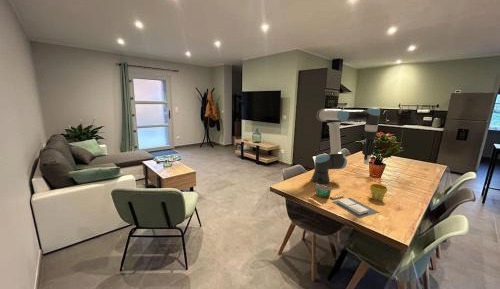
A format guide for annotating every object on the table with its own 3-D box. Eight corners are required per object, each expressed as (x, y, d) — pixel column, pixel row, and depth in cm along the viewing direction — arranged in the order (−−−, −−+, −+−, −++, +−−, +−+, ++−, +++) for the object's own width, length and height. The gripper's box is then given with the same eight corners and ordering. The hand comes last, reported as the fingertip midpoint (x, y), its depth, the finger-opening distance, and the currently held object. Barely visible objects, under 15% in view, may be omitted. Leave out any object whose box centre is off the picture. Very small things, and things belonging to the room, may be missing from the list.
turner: (334, 202, 145) (334, 199, 145) (328, 198, 151) (328, 195, 150) (353, 198, 152) (353, 195, 152) (346, 194, 158) (346, 191, 157)
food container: (311, 196, 153) (312, 183, 151) (315, 194, 157) (316, 181, 155) (327, 202, 145) (328, 189, 143) (331, 199, 149) (332, 186, 147)
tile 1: (346, 200, 145) (337, 202, 142) (346, 198, 145) (337, 200, 142) (355, 206, 138) (347, 208, 135) (356, 203, 138) (347, 205, 135)
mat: (331, 203, 143) (331, 201, 143) (350, 199, 150) (350, 197, 150) (359, 220, 124) (359, 218, 123) (379, 214, 131) (379, 212, 131)
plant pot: (370, 194, 159) (372, 182, 157) (386, 198, 152) (388, 186, 150) (367, 199, 151) (369, 186, 149) (384, 203, 145) (386, 190, 143)
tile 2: (357, 206, 137) (348, 209, 134) (357, 203, 137) (348, 206, 134) (368, 212, 130) (359, 215, 127) (368, 209, 130) (359, 212, 126)
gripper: (369, 132, 136) (364, 166, 141) (382, 131, 141) (377, 164, 146) (359, 130, 142) (354, 163, 147) (372, 129, 148) (367, 161, 153)
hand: (366, 163), depth 147 cm, fingers closed
